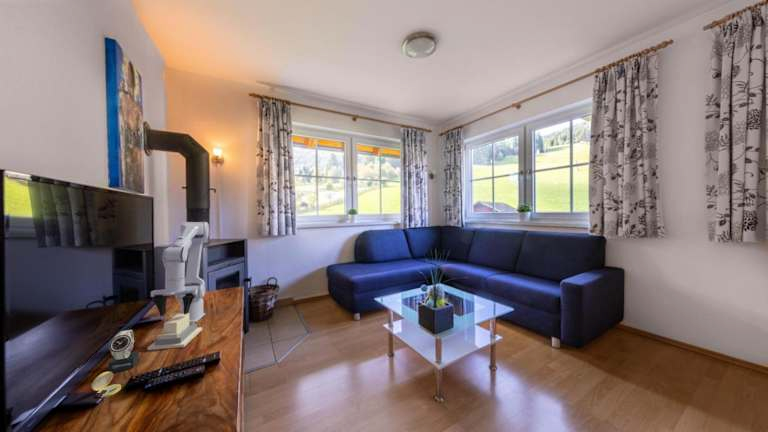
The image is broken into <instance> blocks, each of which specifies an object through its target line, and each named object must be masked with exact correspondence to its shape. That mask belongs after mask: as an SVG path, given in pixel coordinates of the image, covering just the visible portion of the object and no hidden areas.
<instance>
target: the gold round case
mask: <svg viewBox="0 0 768 432" xmlns="http://www.w3.org/2000/svg"><path fill="white" fill-rule="evenodd" d="M113 377H114V372H113V373H112V372H108V371H105V372H102V373H99V375H98V376H97V377H95V379H94V380H93V381H92V383H91V387H90V388H91V389H92V390H93V391H97V392H96V394H97V393H103V395H102V396H103V398H107V397H111V396H112V395H115V394H117V393H118V392H119V391H121V389H122V385H121V384H119V383H115V384H110V383H111V381H112V380H113ZM109 384H110V385H109Z"/></svg>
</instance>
